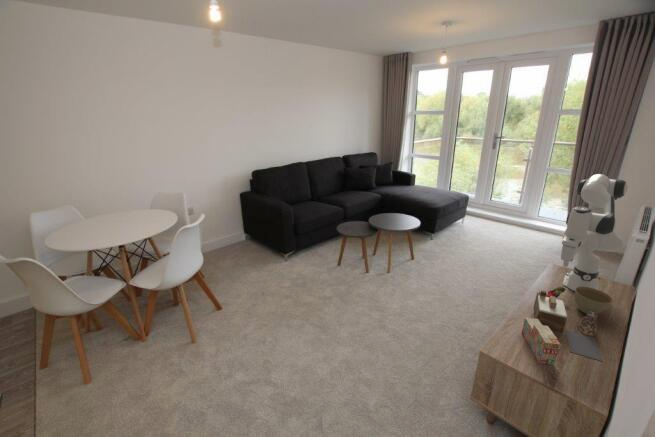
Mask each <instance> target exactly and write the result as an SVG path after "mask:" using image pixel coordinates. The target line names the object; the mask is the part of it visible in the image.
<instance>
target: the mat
mask: <svg viewBox="0 0 655 437" xmlns="http://www.w3.org/2000/svg"><path fill="white" fill-rule="evenodd" d="M565 334H566V339H567V343H568V348H569V352H570V353H573V354H576V355H580V356H583V357H585V358H589V359H593V360H596V361H599V362H604V361H603V358H602V355H601V352H600V349H599V345H598V343H597V340H596V338H595V337H591V336H589V335H585V334H580V333H578V332H577V333H576V332H572V331H570V330H565Z"/></svg>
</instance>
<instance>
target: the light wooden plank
mask: <svg viewBox="0 0 655 437" xmlns="http://www.w3.org/2000/svg"><path fill="white" fill-rule="evenodd" d="M538 292H539V295H540V298H544V299H545V297H546V295H547V290H542V289H539V291H538Z"/></svg>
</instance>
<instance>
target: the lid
mask: <svg viewBox="0 0 655 437" xmlns="http://www.w3.org/2000/svg"><path fill="white" fill-rule="evenodd" d="M538 301H539V310H540V311H541V312H545V313H549V314H553V315H557V316H561V317H565V318H566V317H567V318H568V316H567V312H566V311H567V310H566V307H565V304H564V301H563V300H561V299H557V298H555V297H554V296H550V297H545V299H544V298H540V295H538Z"/></svg>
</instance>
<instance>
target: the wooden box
mask: <svg viewBox="0 0 655 437" xmlns="http://www.w3.org/2000/svg"><path fill="white" fill-rule="evenodd" d="M535 295H536V296H535V300H534V304H533V315H534V319H538V320H539V321H540V323H541V324H542V325H544V326H548V327H549V328H550V330H551V331H556V332H559V333H562V334H563V332H564V330H565V326H566V323H567V320H568V316H567V317H566V318H565V317H561V316H557V315H553V314H549V313H545V312H541V311H540V310H539V301H538V295H539V291H537V293H536V294H535Z"/></svg>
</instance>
